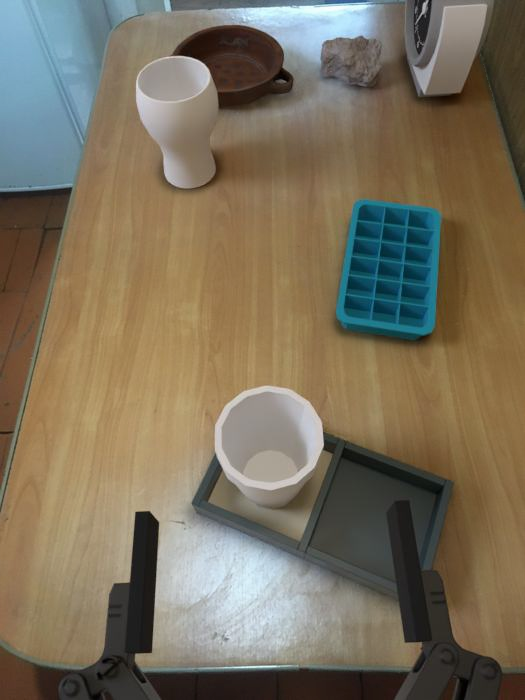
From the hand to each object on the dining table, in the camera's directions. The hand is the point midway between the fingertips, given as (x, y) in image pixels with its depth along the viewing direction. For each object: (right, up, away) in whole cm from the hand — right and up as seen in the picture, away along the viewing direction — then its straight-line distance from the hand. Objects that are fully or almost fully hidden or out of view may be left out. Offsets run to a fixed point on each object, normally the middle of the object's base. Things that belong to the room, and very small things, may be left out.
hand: (272, 510), depth 30 cm
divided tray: (+6, -7, +28) cm, 29 cm away
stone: (+14, +55, +63) cm, 85 cm away
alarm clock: (+27, +55, +62) cm, 87 cm away
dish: (-6, +54, +63) cm, 83 cm away
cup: (-11, +36, +53) cm, 65 cm away
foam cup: (0, -5, +29) cm, 29 cm away
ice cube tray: (+16, +18, +42) cm, 49 cm away
